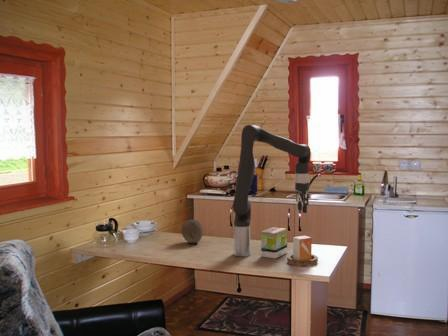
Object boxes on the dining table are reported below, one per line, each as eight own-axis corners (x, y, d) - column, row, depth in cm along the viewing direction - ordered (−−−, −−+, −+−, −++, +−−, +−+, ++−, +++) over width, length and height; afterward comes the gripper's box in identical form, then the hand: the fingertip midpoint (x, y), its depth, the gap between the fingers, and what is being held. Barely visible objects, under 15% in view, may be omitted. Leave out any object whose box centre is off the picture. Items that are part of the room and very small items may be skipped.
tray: (292, 267, 259) (292, 261, 258) (284, 259, 274) (284, 254, 274) (321, 265, 261) (321, 260, 261) (311, 257, 277) (311, 252, 277)
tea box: (276, 259, 275) (276, 233, 274) (260, 256, 280) (260, 231, 279) (287, 252, 288) (287, 228, 286) (272, 250, 293) (272, 226, 292)
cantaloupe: (208, 242, 317) (207, 219, 315) (192, 246, 306) (192, 223, 305) (192, 239, 326) (191, 217, 324) (176, 243, 315) (176, 220, 314)
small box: (299, 263, 263) (299, 239, 262) (292, 260, 268) (292, 236, 267) (311, 261, 266) (311, 237, 265) (304, 258, 272) (304, 235, 271)
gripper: (291, 180, 270) (291, 209, 272) (299, 183, 256) (299, 214, 258) (304, 179, 271) (304, 209, 273) (313, 182, 257) (313, 213, 259)
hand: (302, 211), depth 265 cm, fingers open, 8 cm apart
